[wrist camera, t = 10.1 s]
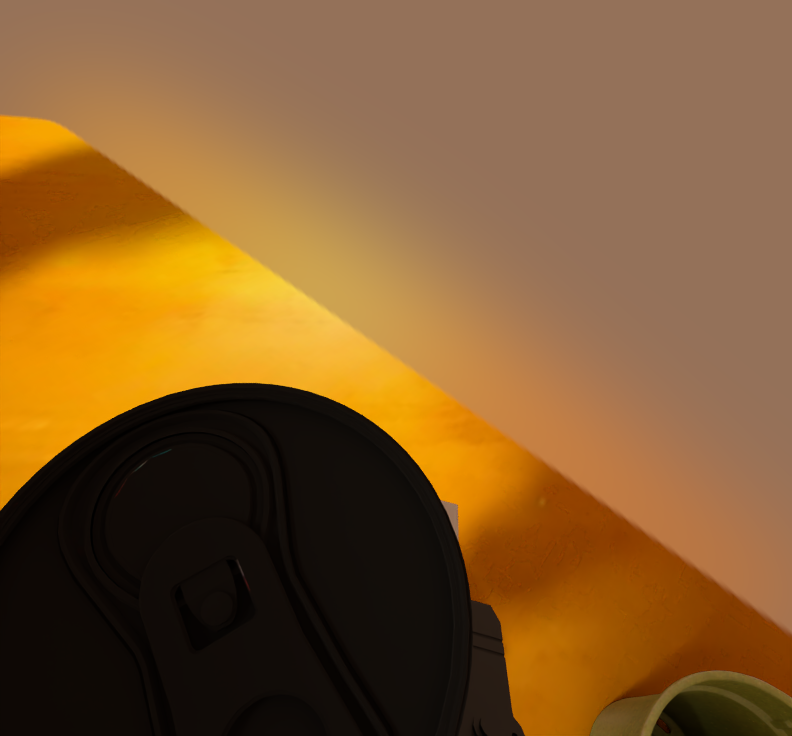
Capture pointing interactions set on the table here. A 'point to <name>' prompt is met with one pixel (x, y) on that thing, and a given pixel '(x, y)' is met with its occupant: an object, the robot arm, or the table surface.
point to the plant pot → (702, 709)
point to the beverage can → (232, 578)
